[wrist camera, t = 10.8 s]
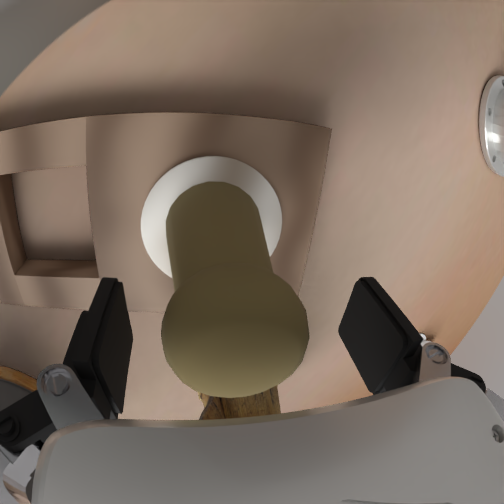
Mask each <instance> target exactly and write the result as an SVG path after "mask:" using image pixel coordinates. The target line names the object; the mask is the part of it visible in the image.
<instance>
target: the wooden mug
mask: <svg viewBox="0 0 504 504" xmlns="http://www.w3.org/2000/svg"><path fill="white" fill-rule="evenodd" d="M198 395H199V399H200V400H201V401H202V402H203V405H204V410H203V412H202V414H201V416H200V419H199V420H214V419H232V418H245V417H256V416H265V415H274V414H281V411H280V404H279V396H278V389H277V385H276V386H274V387H272V388H270V389H268V390H266V391H264V392H261V393H258V394H254V395H250V396H246V397H235V398H225V397H215V396H209V395H206V394H203V393H200V392H198Z"/></svg>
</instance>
